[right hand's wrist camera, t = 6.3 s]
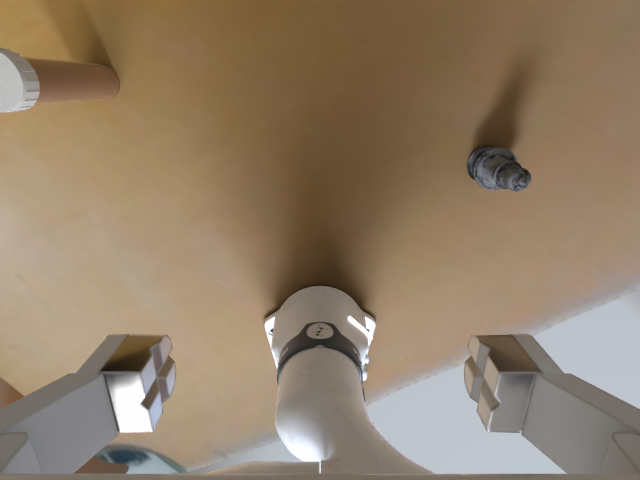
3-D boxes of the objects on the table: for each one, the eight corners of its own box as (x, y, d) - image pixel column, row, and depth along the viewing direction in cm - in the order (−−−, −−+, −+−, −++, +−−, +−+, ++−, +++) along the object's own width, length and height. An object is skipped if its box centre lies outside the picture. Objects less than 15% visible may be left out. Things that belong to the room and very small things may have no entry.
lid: (35, 121, 38) (18, 123, 36) (-24, 95, 37) (-45, 96, 35) (46, 65, 36) (28, 64, 34) (-16, 37, 36) (-38, 34, 33)
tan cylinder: (115, 106, 54) (17, 115, 36) (82, 91, 53) (-34, 93, 36) (123, 73, 52) (25, 67, 35) (89, 57, 51) (-28, 43, 34)
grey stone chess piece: (456, 168, 57) (489, 188, 46) (485, 135, 55) (527, 147, 44) (485, 191, 58) (524, 217, 47) (514, 159, 56) (562, 178, 45)
